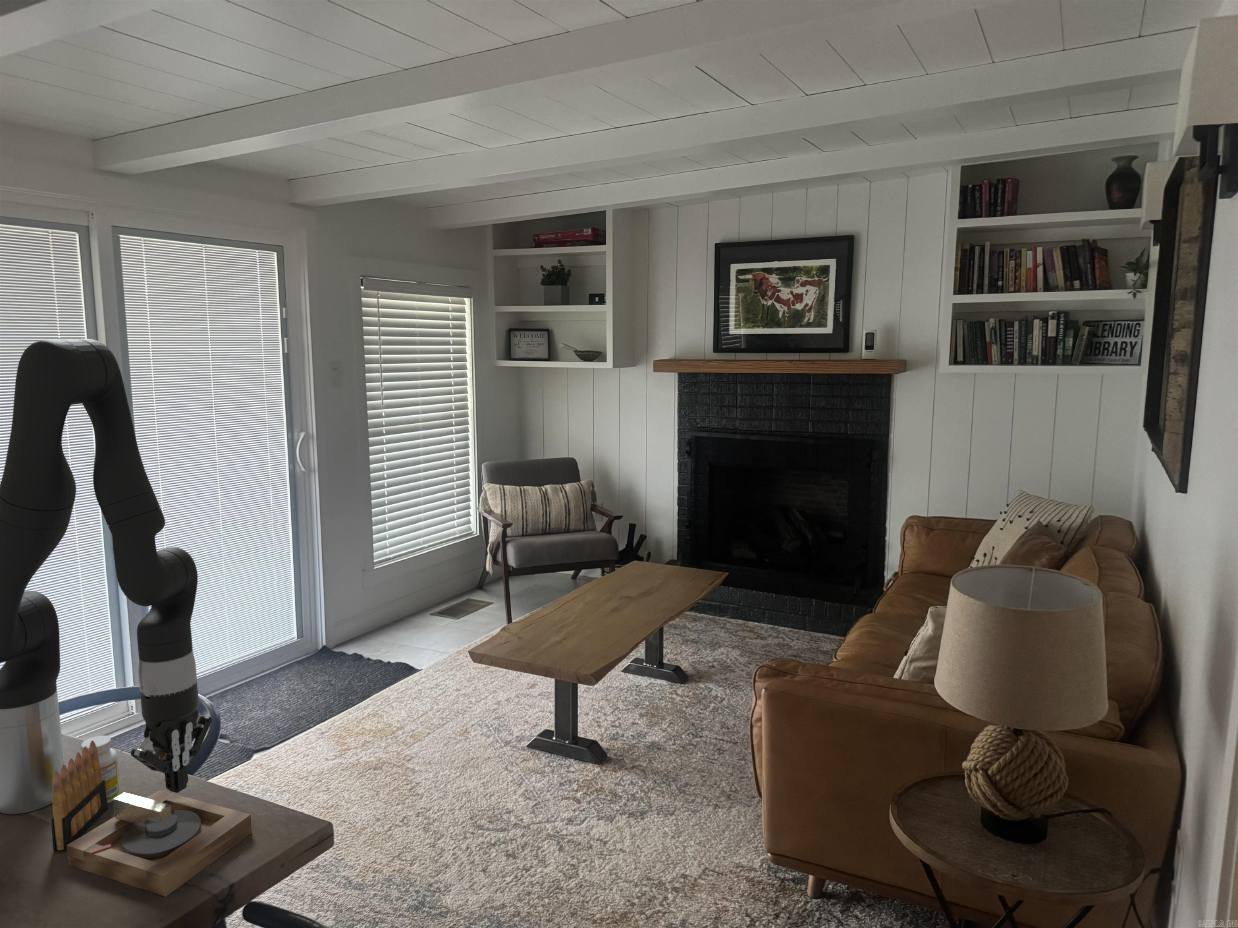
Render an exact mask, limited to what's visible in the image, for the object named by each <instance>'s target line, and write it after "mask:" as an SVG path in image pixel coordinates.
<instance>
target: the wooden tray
mask: <svg viewBox="0 0 1238 928" xmlns="http://www.w3.org/2000/svg"><path fill="white" fill-rule="evenodd" d="M146 798H147V799H150V800H154V801H158V802H161V803H165V804H168V805H171V810H187V811H191V812H194V813H196V814H197V815H198V816H199V817H200V819H201V832H200V834H198V835H197V836H195V837H194V838H192V839H191V840H189V841H188V842H187V843H185V844H184V845H182V846H181V847H179V848H178V849H176V850H175V851H174V852H172V853H171V854H169V855H168V856H165V857H161V858H156V859H149V860H146V859H143V858H140V857H137V856H133V855H130V854H127V853H124V852H123V851H122V844H121V838H122V836H123V834H124V832H125V831H126V830H127V829H128V828H129V827H130V826H132V825H133V824H135V823H131V822H128V821H124V820H121V819H118V818H115V816H113V817H112V818H110V819H108V820H107V821H105V822H103V823H102V824H99V826H97V827H95V828H94V829H93V828H92V829H91V830H90V831H87V833H85V834H84V835H83V836H81V837H80V838H78V839H76V840H75V841H73V842H71V843H70V844H68V845H67V851H66V854H67V865H68V866H70V867H73V868H76V869H79V870H83V871H85V872H89V873H91V874H95V875H99V876H100V877H103V878H107V879H111V880H114V881H116V882H119V883H122V884H124V885H125V884H126V885H128V886H132V887H134V888H139V889H141V890H145V891H147V892H150V893H153V894H155V895H159V896H162V897H165V898H167V897H168V896H169V895H170V894H171V893H173V892H174V891H175V890H177V889H178V888H180V887H181V886H182V885H184V884H185V883H186V882H188V881H189V880H190V879H192V878H194V877H195V876H196V875H197V874H198V873H200V872H201V871H202V870H204V869H205V868H207V867H208V866H209V865H210V864H212V863H213V862H214V861H217V860H218V859H219V858H220V857H221V856H222V855H224V854H225V853H227V852H228V851H229V850H231V849H232V848H234V847H235V846H236V845H237V844H239V843H240V842H242V841H243V840H245V839H246V838H247V837H248V836H249V835H250V834H253V832H252V816H251V815H252V814H251V813H247V812H243V811H239V810H235V809H232V808H228V807H225V806H220V805H218V804H217V805H216V804H213V803H209V802H206V801H202V800H198V799H195V798H192V797H187V796H183V795H180V794H178V793H174V792H170V791H165V790H161V789H159V790H157V791H155V792H154V793H152V794H150V795H149V796H147V797H146Z"/></svg>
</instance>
